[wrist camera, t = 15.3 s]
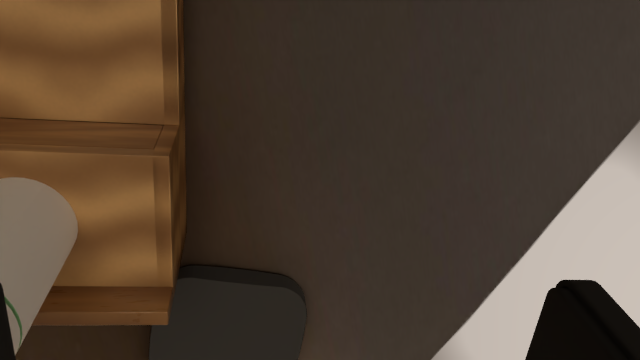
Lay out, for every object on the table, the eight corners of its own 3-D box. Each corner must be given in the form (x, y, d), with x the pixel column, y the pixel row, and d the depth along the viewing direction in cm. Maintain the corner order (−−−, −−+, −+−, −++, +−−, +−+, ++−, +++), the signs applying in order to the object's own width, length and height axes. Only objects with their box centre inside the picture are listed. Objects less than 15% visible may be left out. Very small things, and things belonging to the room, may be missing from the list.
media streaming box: (161, 257, 53) (156, 276, 50) (312, 274, 56) (315, 293, 53) (148, 373, 59) (143, 395, 56) (285, 383, 62) (286, 405, 59)
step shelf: (-111, -69, 39) (-264, -60, 27) (182, -44, 42) (156, -26, 30) (-46, 227, 49) (-137, 326, 38) (186, 232, 52) (168, 325, 40)
